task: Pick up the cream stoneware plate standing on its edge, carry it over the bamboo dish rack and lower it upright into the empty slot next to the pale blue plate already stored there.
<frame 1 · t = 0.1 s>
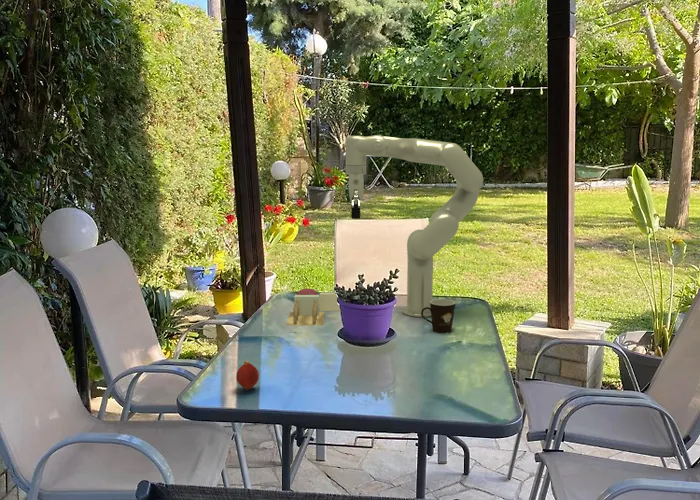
hand: (355, 216, 236), 37 cm above the table, tool pointing down, fingers open, 9 cm apart
coffee mug: (437, 330, 221), on the table
dish rack: (306, 322, 231), on the table
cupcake: (307, 306, 252), on the table
plate: (332, 314, 241), on the table
onion: (248, 390, 170), on the table
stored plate: (307, 314, 235), resting on dish rack
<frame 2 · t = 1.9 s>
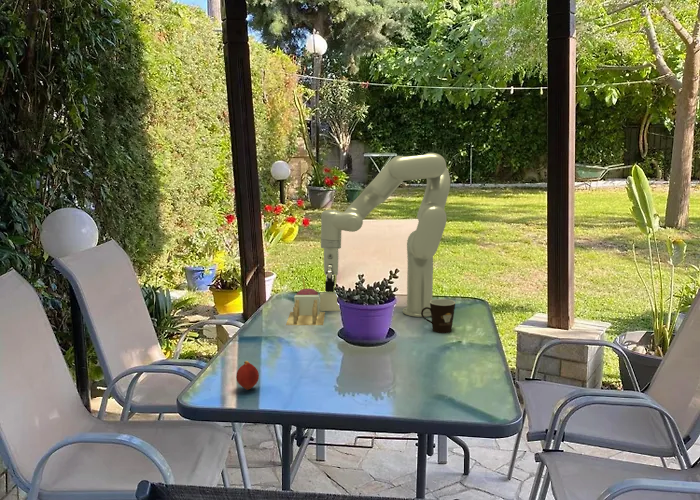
hand: (330, 288, 240), 10 cm above the table, tool pointing down, fingers open, 9 cm apart
nothing on the table moved.
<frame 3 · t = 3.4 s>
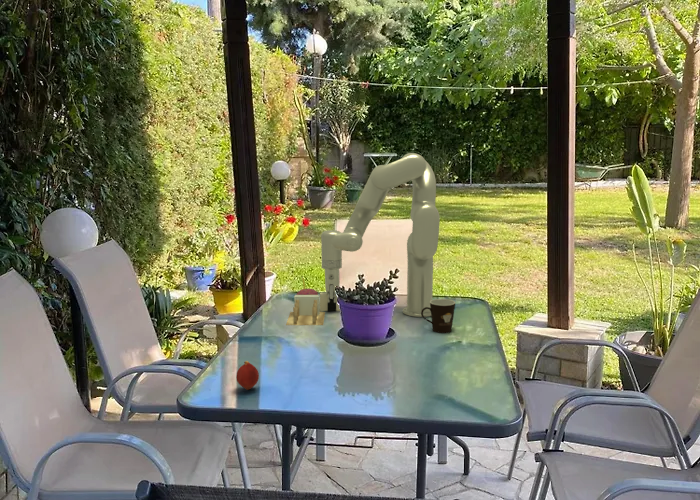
hand: (332, 311, 241), 1 cm above the table, tool pointing down, fingers closed on plate, 2 cm apart
plate: (332, 313, 241), on the table, touching gripper
everything else where it was.
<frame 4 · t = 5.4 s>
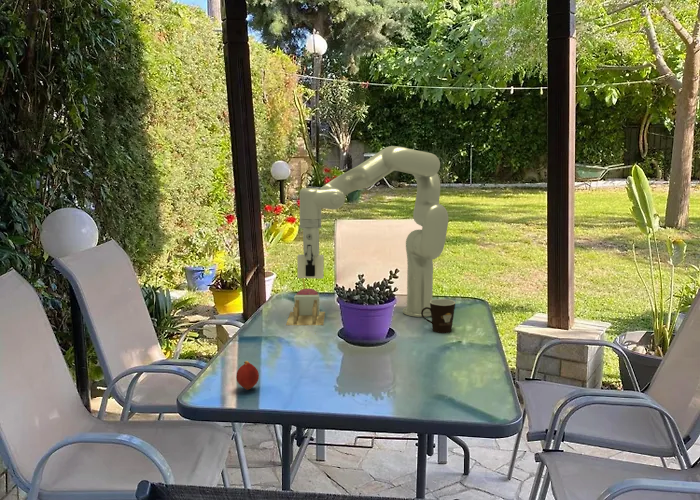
hand: (310, 274, 226), 18 cm above the table, tool pointing down, fingers closed on plate, 2 cm apart
plate: (310, 277, 227), point 17 cm above the table, touching gripper
everything else where it was.
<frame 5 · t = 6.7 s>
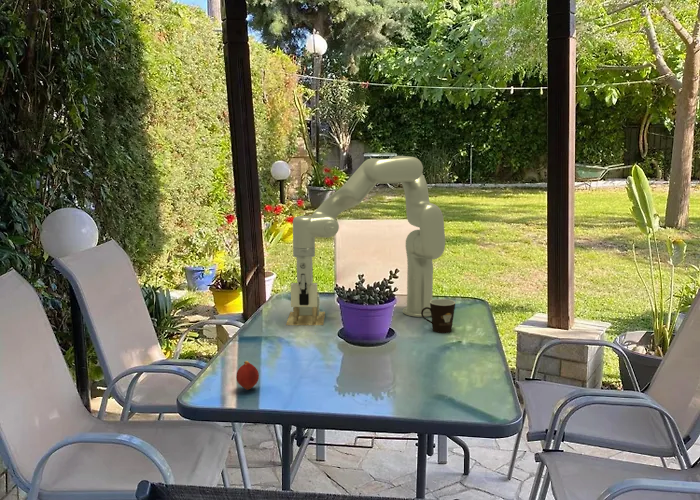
hand: (304, 303, 224), 8 cm above the table, tool pointing down, fingers closed on plate, 2 cm apart
plate: (304, 305, 224), point 7 cm above the table, touching gripper
everything else where it was.
when the fingers open (4 cm above the table, at t = 7.7 s): plate drops 2 cm, resting on dish rack.
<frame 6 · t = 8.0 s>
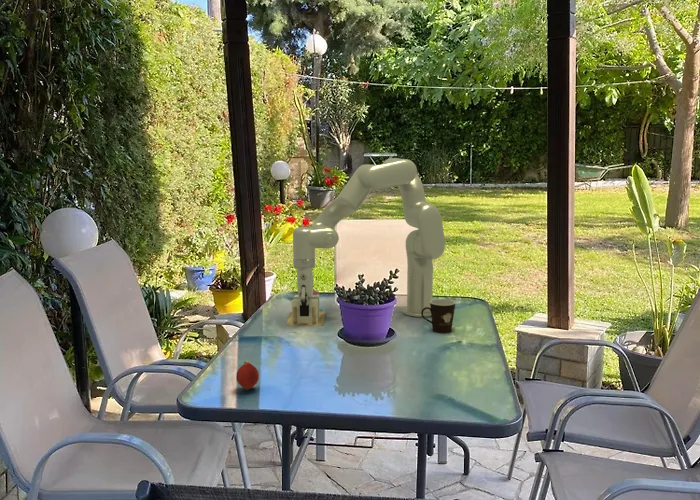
hand: (305, 313, 225), 5 cm above the table, tool pointing down, fingers open, 5 cm apart
plate: (305, 322, 225), point 2 cm above the table, touching dish rack
everything else where it was.
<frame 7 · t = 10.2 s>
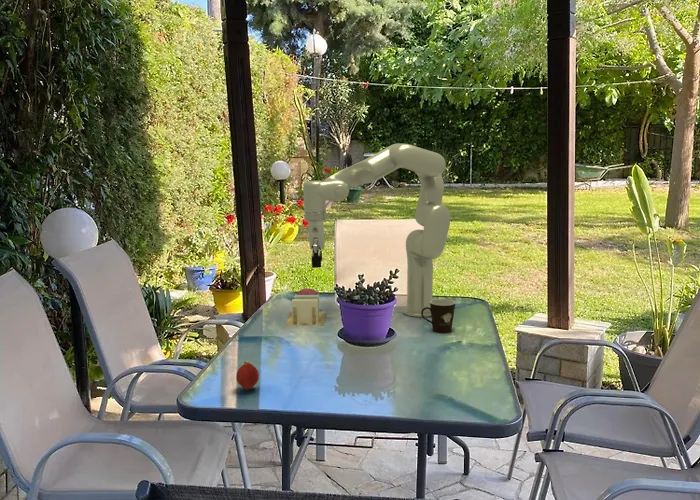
hand: (317, 264, 226), 21 cm above the table, tool pointing down, fingers open, 9 cm apart
nothing on the table moved.
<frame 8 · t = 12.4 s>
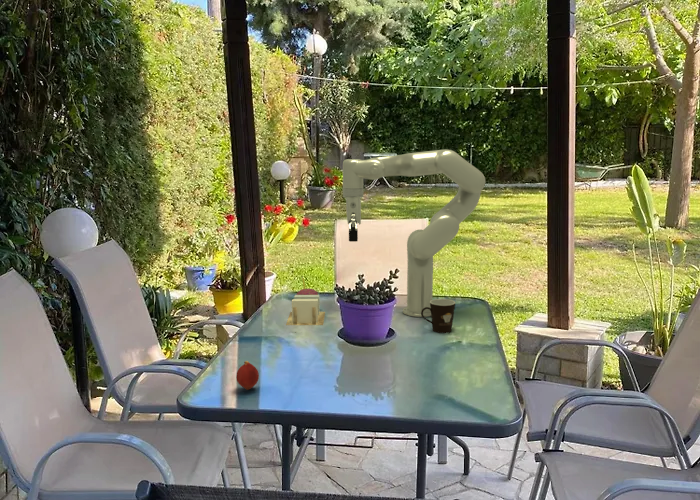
hand: (353, 239, 237), 28 cm above the table, tool pointing down, fingers open, 9 cm apart
nothing on the table moved.
at the end: plate 0.1 cm from the target spot on the dish rack, point 1.5 cm above the dish rack's base; plate tilted 0°; the gripper is holding nothing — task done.
